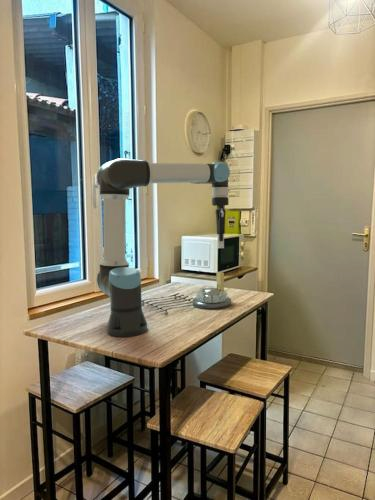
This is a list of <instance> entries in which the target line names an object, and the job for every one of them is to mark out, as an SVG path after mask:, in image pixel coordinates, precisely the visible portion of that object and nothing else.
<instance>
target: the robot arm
mask: <svg viewBox="0 0 375 500" xmlns="http://www.w3.org/2000/svg"><path fill="white" fill-rule="evenodd" d="M230 174H231V170H230V167H229V165H228V162H224V161H215V162H211V163H188V162H187V163H186V162H185V163H184V162H183V163H182V162H181V163H180V162H179V163H178V162H177V163H176V162H173V163H172V162H171V163H170V162H169V163H168V162H160V163H159V162H149V161H148V160H142V159H131V158H116V159H113V160H109V161H107V162H105V163H103V164H102V165H101V166H100V167H99V168H98V171H97V173H96V180H97V183H98V186H99V196H100V197H101V198H102V199H103V260H100V262H99V271H98V273H97V276H96V284H97V287H98V288H99V290H100V291H101V292H102V293H104V294H105V295H106V296H108V297H109V301H110V314H109V318H108V321H107V326H106V333H107V334H108V335H109V336H113V337H119V338H121V337H122V338H123V337H124V338H125V337H134V336H138V335H142V334H144V333H146V332H147V330H148V321H147V320H146V319H147V318H146V317H145V314H144V312H143V308H142V307H143V303H142V302H143V301H142V277H141V272H140V271H139V270H138V269H137V268H134V267H130V265H129V262H128V261H127V260H126V200H127V199H128V198H129V197H130V189H134V188H139V187H148V186H150V184H180V183H181V184H183V183H184V184H185V183H186V184H187V183H188V184H189V183H190V184H194V185H197V184H199V185H203V184H204V185H205V184H211V196H212V197H211V205H212V206H216V209H215V218H216V219H215V223H216V235H217V249H225V234H226V233H225V231H226V229H225V228H226V227H225V226H226V209H225V206H228V205H229V202H230V201H229V192H230V189H229V178H230Z"/></svg>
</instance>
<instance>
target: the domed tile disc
mask: <svg viewBox="0 0 375 500" xmlns="http://www.w3.org/2000/svg"><path fill="white" fill-rule="evenodd" d="M206 288H207V287H200V288H199V290H198V291H197V292H196V293H195V294H196V295H195V296H196V297H195V298H196V300H197V301H199V302H203V303H220V302H224V301H226V300H227V297H228V292H227V291H226V290H225V273H224V271H223V272H222V271H220V272H219V271H218V272H216V288H218V289H219V292H218V295H206V292H204V289H206Z"/></svg>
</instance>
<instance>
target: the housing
mask: <svg viewBox="0 0 375 500" xmlns="http://www.w3.org/2000/svg"><path fill="white" fill-rule="evenodd" d="M205 288H206V289H204V292H206V295H218V292H219V289H218V288H217V287H205ZM192 306H193V307H194V308H196V309H197V308H198V309H202V310H222V309H226V308H229V307H230V306H232V299H231V298H230V297H229V296H227V300H226V301H224V302H220V303H203V302H199V301H197V300H196V297H194V298H193V299H192Z"/></svg>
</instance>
